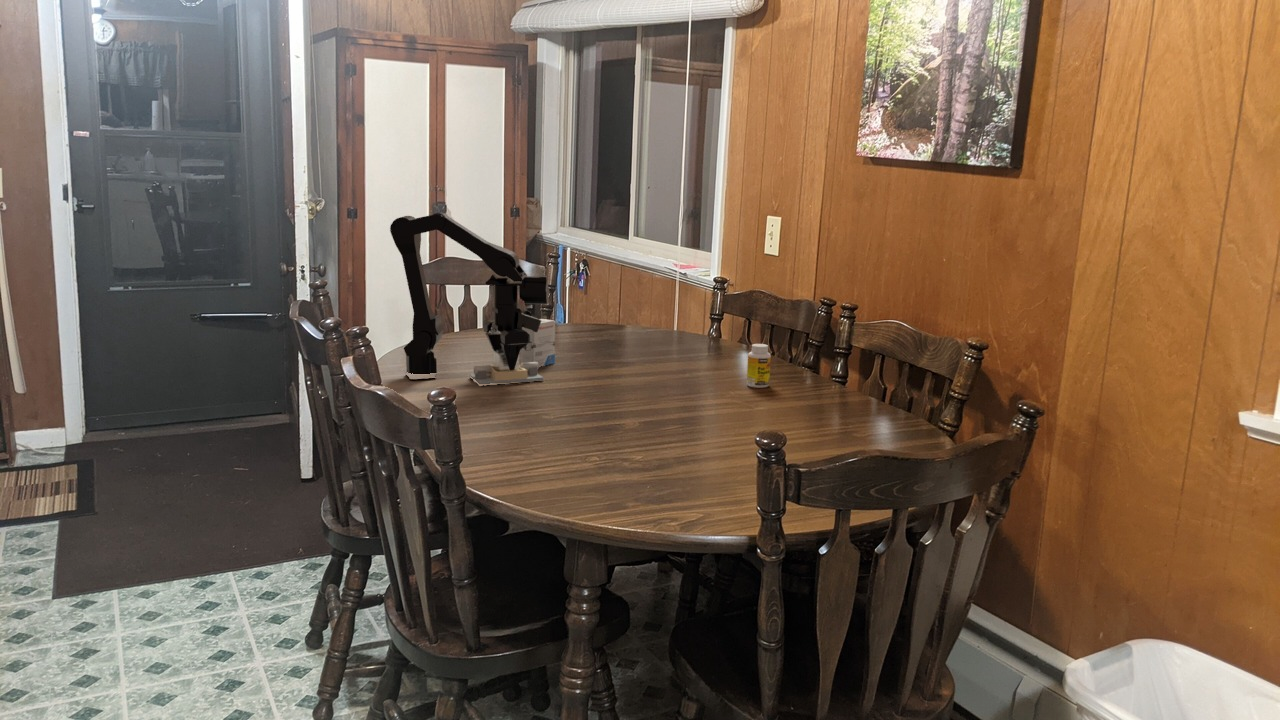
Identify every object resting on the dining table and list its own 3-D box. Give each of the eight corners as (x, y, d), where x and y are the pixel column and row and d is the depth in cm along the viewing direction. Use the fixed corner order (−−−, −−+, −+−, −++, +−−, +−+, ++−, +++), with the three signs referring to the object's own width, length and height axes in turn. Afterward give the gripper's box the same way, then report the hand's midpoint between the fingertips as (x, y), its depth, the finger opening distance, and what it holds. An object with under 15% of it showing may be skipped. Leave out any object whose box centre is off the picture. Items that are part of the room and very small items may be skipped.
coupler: (519, 377, 245) (519, 350, 243) (499, 378, 243) (499, 352, 241) (512, 372, 249) (512, 347, 248) (493, 374, 247) (493, 348, 246)
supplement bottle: (756, 389, 242) (758, 348, 240) (741, 384, 247) (743, 344, 245) (773, 386, 245) (776, 346, 243) (759, 382, 250) (761, 342, 248)
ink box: (542, 361, 268) (542, 318, 266) (556, 363, 265) (556, 320, 263) (519, 366, 261) (519, 322, 259) (534, 369, 258) (534, 324, 256)
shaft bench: (480, 386, 239) (479, 370, 238) (469, 378, 247) (469, 362, 246) (543, 381, 245) (543, 365, 244) (531, 373, 253) (531, 358, 252)
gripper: (550, 307, 237) (550, 371, 240) (525, 296, 254) (525, 356, 257) (505, 309, 232) (505, 375, 236) (482, 298, 249) (483, 359, 252)
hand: (506, 366), depth 245 cm, fingers open, 9 cm apart
